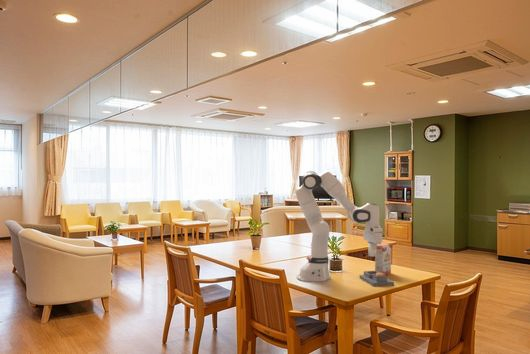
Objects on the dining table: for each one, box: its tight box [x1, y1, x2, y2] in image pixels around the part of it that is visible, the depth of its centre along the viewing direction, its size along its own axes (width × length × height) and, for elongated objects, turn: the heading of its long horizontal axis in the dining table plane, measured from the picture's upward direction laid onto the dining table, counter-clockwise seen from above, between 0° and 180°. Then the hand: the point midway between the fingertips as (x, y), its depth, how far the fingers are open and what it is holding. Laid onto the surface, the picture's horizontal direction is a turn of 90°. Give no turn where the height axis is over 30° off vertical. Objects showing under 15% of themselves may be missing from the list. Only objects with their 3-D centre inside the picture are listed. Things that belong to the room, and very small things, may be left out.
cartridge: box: [367, 241, 376, 258], centre depth 257 cm, size 5×5×10 cm
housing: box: [359, 270, 395, 287], centre depth 252 cm, size 14×20×6 cm
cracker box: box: [374, 242, 392, 276], centre depth 270 cm, size 14×6×21 cm, turn 139°
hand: (372, 248), depth 257 cm, fingers closed on cartridge, 5 cm apart
